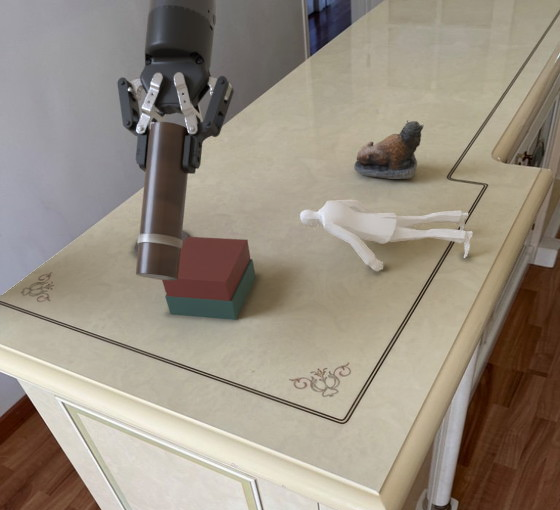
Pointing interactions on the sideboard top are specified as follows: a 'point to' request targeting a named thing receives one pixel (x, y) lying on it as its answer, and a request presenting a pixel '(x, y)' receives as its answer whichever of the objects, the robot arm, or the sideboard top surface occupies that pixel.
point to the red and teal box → (211, 278)
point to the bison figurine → (391, 154)
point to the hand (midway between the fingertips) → (167, 170)
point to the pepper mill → (163, 203)
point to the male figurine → (381, 227)
